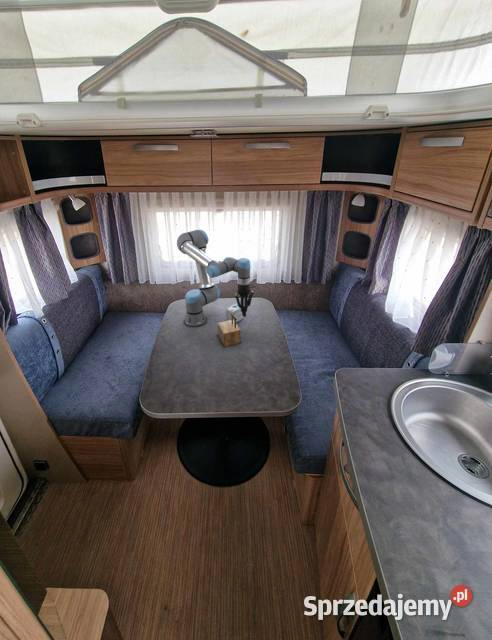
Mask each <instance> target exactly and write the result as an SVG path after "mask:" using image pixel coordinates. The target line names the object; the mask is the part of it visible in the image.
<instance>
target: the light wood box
mask: <svg viewBox="0 0 492 640" xmlns="http://www.w3.org/2000/svg"><path fill="white" fill-rule="evenodd" d="M231 318H232V320H229V321H227V320H225V321H224V320H223V321H220V322H217V335H218V337H219V339H220V342H221V344H222V345H223V346H224V348H225V347H228V346H233V345H237V344H240V343H242V342H241V341H242V340H241V329H240V327H239V326H238V324H237V322H236V320H237V319H236V317H235V316H234V314H233V313H231ZM233 319H234V320H233Z"/></svg>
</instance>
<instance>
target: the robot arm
mask: <svg viewBox="0 0 492 640" xmlns="http://www.w3.org/2000/svg"><path fill="white" fill-rule="evenodd" d="M208 243H209V236H208V234H207V232H206V231H205V230H203V229H195V230H191V231H187V232H182V233H181V234H180V235H179V236H178V237H177V239H176V246H177V249H178V250H179V251H180V252H181V254H183V255H187V256H188V257H190V258H191V259H192V260H194V261H195V266H196V271H197V274H198V279H199V282H200V285H199V286H198V289H197V288H196V289H190V290H188V291H186V294H184V295H185V296H184V302H185V308H186V309H185V310H186V315H185V318H184V323H185V325H187V326H189V327H199V326H202V325H204V324H205V323H206V321H207V319H206V318H207V317H206V315H205V313H204V311H203V307H205V306H207V305H209V304H211V303H214V302H215V301H218V300H219V298H220V295H221V292H220V289H219V288H218V286H217V284H216V283H214V282H213V280H212V279H214V278H218V277H221V276H222V275H225V274H228V273H231V272H235V273H237V291H236V293H234V294H233V296H234V297H235V300H236V304H238V307H239V308H241V312H242V318H246V317H247V312H248V308H249V307H250V306H251V303H252V299H253V296H254V294H255V292H254V291H253V290H251V260H250V259H249V258H247V257H241V258H238V259H237V258H234V257H230V256H226V257H225V258H224V259H223V260H222V261H220V262H217V261H216V260H215V259H214V258H212V257H211V256H210V255H208V254H207V252H206V250H207V248H208V247H207V245H208Z"/></svg>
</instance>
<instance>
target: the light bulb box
mask: <svg viewBox="0 0 492 640" xmlns="http://www.w3.org/2000/svg"><path fill="white" fill-rule="evenodd" d="M231 313H233V314H234V316H235V317H236V319H237V320H236V323H237V322H240V321H241V320H243V315H242V312H241V308H239V307H238V304H237V303H234V304H232V305H230V306H229V307H227V308H226V309H225V314H226V315H225V316H226V317H225V319H226V321H229V320H232V318H231ZM233 320H234V319H233Z"/></svg>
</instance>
